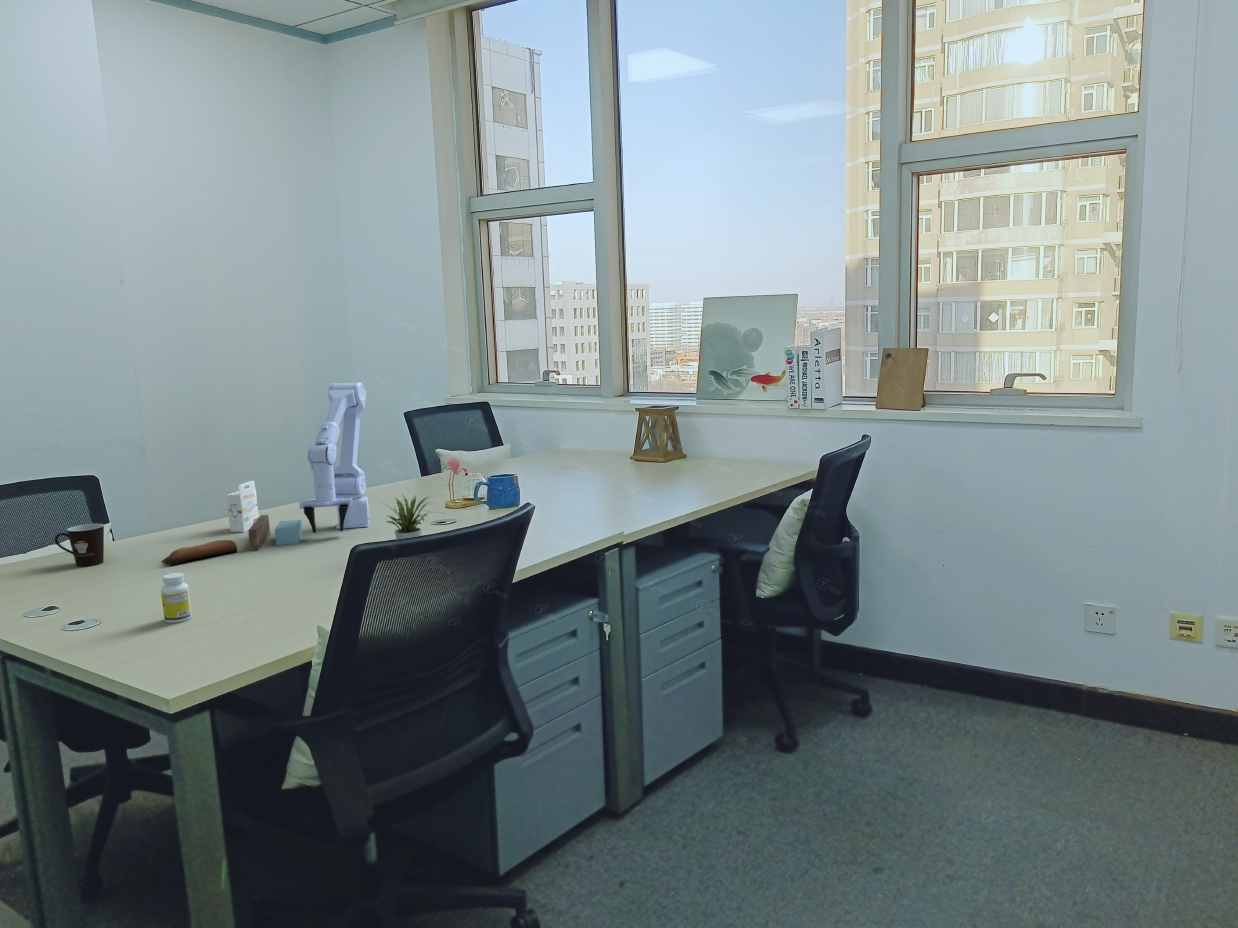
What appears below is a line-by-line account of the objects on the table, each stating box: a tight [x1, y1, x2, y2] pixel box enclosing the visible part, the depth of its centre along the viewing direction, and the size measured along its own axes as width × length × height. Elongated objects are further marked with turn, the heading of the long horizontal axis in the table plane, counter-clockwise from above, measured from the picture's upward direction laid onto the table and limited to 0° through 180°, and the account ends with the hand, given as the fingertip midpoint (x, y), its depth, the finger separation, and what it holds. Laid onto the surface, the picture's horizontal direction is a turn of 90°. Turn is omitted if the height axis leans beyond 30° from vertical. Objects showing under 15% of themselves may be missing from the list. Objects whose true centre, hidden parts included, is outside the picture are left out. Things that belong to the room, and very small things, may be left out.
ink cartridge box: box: [225, 480, 260, 533], centre depth 283 cm, size 9×5×15 cm, turn 168°
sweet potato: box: [161, 539, 238, 567], centre depth 251 cm, size 18×7×7 cm
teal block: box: [274, 519, 303, 546], centre depth 267 cm, size 6×10×5 cm, turn 12°
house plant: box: [382, 493, 433, 540], centre depth 248 cm, size 14×14×16 cm
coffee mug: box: [54, 523, 105, 568], centre depth 247 cm, size 12×9×10 cm
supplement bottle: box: [160, 572, 193, 624], centre depth 198 cm, size 5×5×10 cm
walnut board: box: [247, 514, 271, 552], centre depth 266 cm, size 2×20×6 cm, turn 11°
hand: (328, 530), depth 269 cm, fingers open, 7 cm apart
